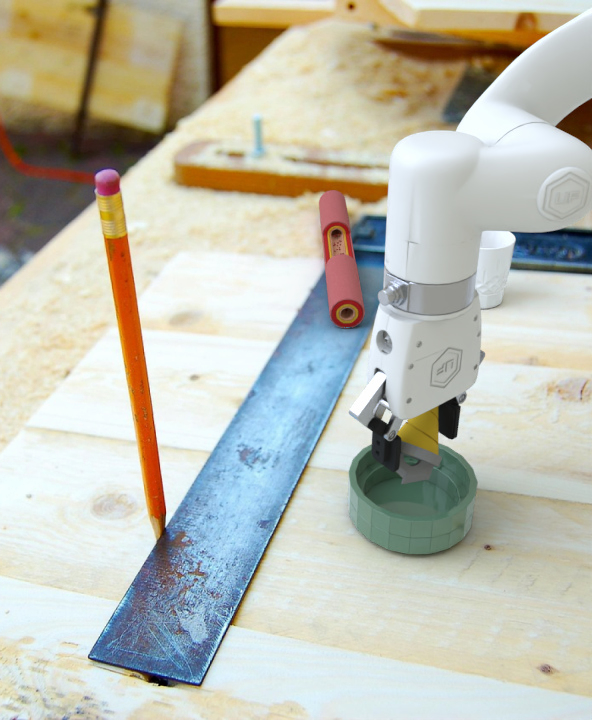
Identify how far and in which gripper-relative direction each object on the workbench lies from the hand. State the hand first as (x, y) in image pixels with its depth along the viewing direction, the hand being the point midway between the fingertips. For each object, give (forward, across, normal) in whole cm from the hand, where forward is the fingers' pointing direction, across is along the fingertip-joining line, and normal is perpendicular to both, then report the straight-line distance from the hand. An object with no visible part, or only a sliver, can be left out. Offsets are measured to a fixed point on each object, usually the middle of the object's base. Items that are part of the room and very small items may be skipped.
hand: (414, 446), depth 74 cm
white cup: (+9, +40, +26) cm, 49 cm away
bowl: (+9, 0, 0) cm, 9 cm away
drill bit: (+2, 0, 0) cm, 2 cm away
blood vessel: (+9, +32, +49) cm, 59 cm away
